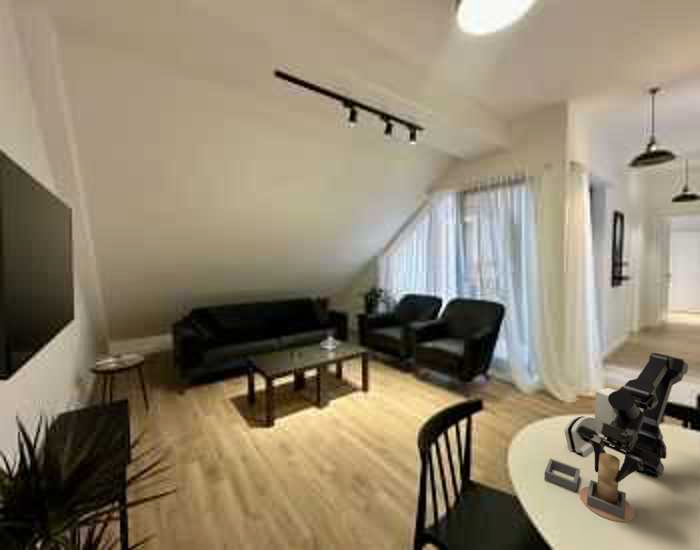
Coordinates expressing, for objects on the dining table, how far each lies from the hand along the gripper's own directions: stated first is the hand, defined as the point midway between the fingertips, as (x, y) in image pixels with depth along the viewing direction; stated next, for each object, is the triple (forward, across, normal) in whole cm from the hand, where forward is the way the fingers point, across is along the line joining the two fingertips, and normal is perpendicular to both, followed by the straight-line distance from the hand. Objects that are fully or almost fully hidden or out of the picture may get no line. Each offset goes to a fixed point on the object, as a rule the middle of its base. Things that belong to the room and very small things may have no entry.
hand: (606, 476), depth 91 cm
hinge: (-12, -16, +25) cm, 32 cm away
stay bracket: (+5, 0, +7) cm, 9 cm away
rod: (+4, 0, +6) cm, 7 cm away
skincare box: (-23, -15, +36) cm, 45 cm away
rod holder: (+5, -12, +7) cm, 15 cm away
